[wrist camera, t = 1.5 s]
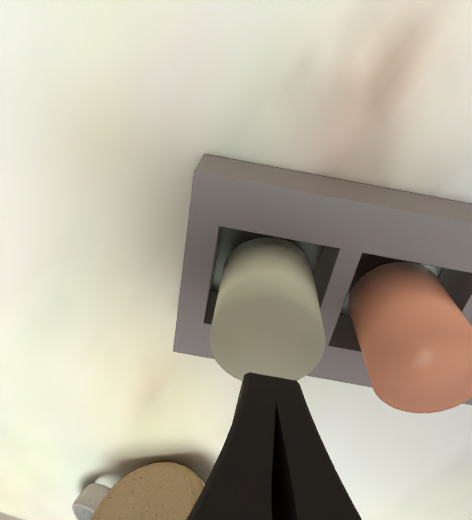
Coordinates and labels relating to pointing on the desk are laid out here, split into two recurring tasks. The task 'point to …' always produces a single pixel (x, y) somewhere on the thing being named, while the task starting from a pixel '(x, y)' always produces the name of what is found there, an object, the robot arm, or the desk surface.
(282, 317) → the button sage
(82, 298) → the desk surface
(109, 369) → the desk surface
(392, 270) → the button terracotta
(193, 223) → the panel
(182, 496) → the ceramic mug
